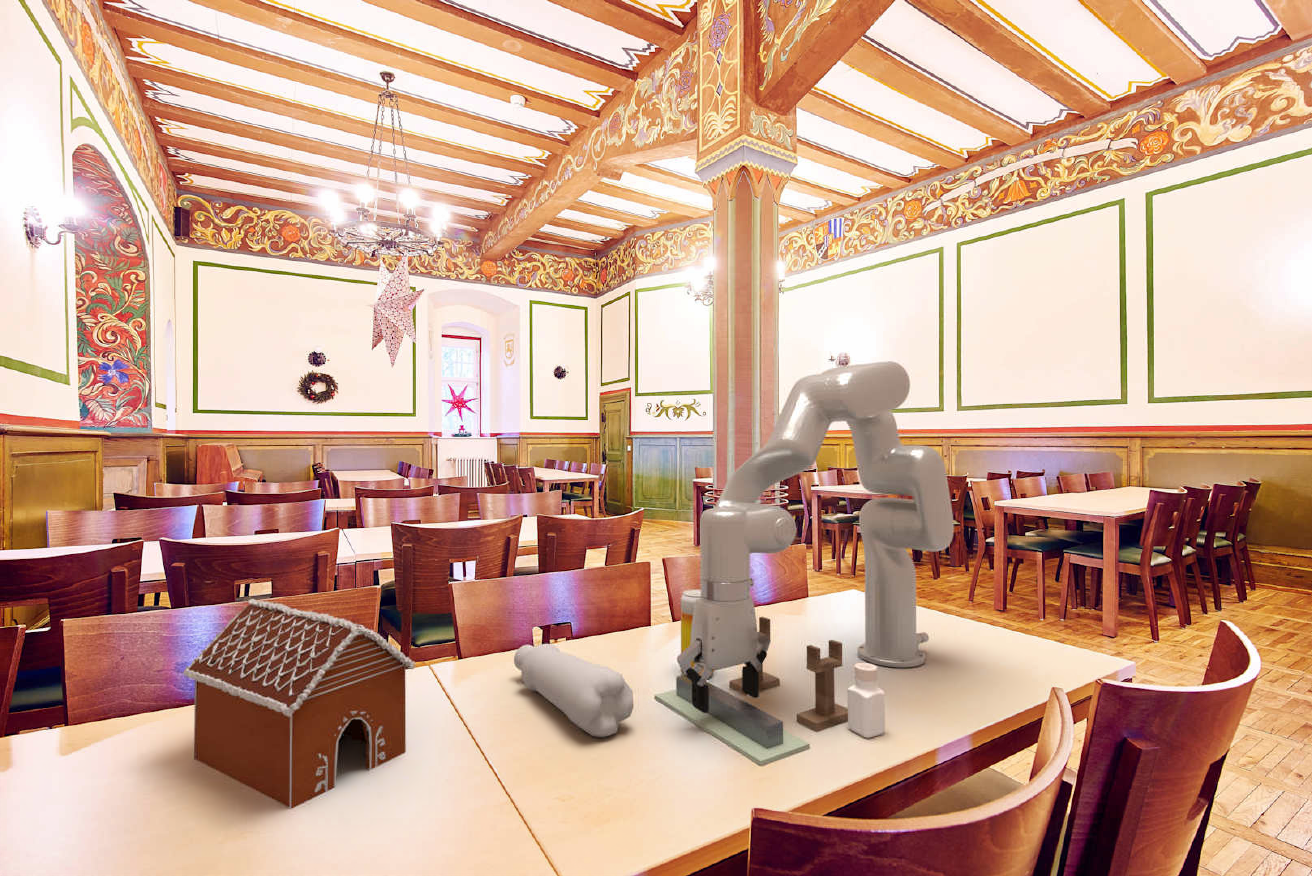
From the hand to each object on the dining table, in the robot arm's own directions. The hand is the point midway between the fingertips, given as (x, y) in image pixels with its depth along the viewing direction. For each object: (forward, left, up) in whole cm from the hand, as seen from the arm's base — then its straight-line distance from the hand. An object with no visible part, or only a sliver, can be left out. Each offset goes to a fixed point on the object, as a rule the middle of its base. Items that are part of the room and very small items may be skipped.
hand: (726, 702), depth 94 cm
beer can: (-8, -18, -3) cm, 20 cm away
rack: (-13, 0, -3) cm, 13 cm away
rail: (0, 0, -2) cm, 2 cm away
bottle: (+18, -19, -3) cm, 26 cm away
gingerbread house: (+55, -22, -3) cm, 60 cm away
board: (0, 0, -3) cm, 3 cm away
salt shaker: (-15, +14, -3) cm, 21 cm away
